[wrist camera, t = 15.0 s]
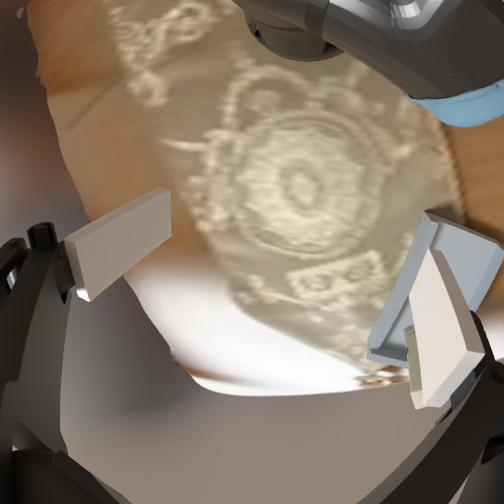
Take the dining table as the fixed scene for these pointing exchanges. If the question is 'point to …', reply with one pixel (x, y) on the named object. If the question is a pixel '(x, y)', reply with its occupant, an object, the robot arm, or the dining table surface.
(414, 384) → the box
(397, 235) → the dining table surface
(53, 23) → the dining table surface
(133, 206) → the robot arm
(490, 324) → the dining table surface
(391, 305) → the blue-grey tray
